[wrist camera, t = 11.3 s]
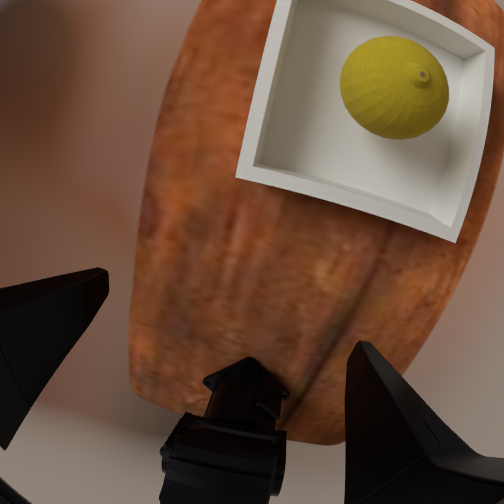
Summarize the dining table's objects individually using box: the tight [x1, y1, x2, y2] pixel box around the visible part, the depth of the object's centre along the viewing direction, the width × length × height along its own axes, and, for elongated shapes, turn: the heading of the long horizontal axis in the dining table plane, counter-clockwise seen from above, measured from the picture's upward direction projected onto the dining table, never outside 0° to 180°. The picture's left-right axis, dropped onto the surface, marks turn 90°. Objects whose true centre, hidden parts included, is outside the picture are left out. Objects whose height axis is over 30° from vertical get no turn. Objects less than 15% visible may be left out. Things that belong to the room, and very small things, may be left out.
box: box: [236, 0, 494, 243], centre depth 14 cm, size 14×14×4 cm
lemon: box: [339, 36, 449, 140], centre depth 12 cm, size 6×6×8 cm
